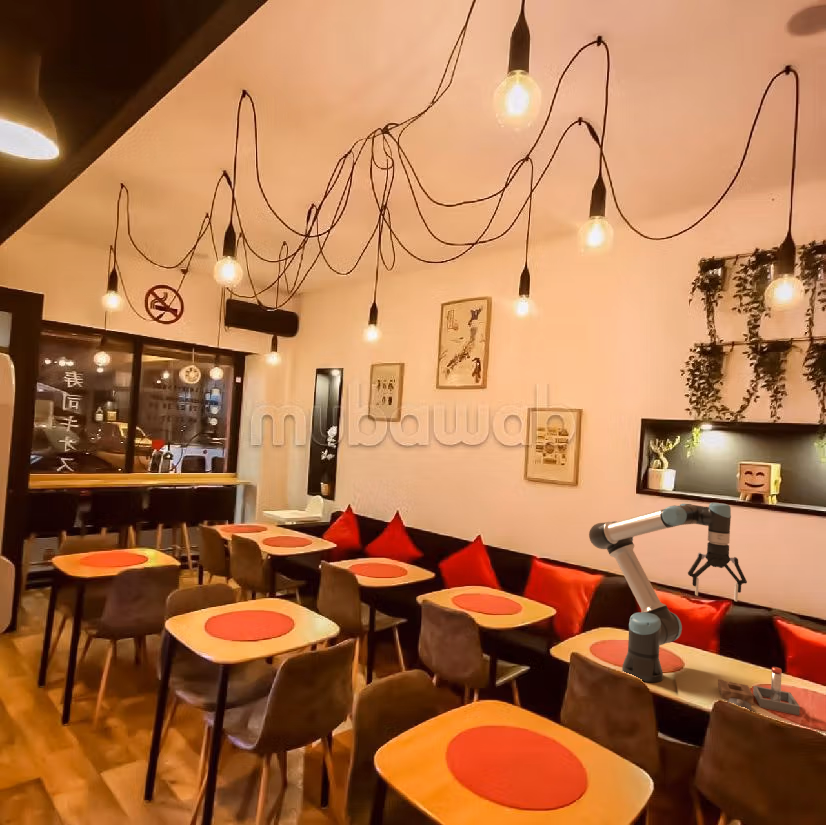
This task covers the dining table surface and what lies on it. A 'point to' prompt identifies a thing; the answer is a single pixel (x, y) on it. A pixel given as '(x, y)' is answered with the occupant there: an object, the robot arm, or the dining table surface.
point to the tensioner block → (736, 693)
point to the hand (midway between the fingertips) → (715, 597)
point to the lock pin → (776, 684)
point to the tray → (788, 707)
